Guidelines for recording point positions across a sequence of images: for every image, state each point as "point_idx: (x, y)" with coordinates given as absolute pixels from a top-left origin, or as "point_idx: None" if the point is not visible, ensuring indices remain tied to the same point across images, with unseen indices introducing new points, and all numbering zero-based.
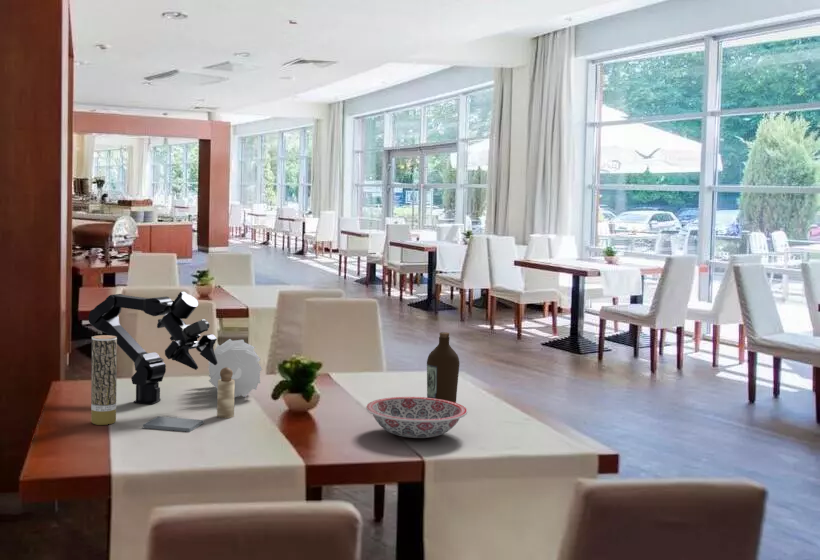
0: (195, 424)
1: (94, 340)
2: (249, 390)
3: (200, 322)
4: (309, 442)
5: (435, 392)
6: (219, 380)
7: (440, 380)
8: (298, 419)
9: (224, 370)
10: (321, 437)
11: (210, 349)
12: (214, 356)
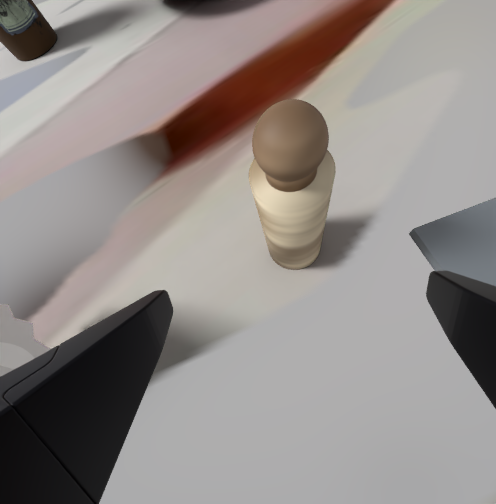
0: (475, 207)
1: None
2: (38, 345)
3: None
4: (340, 14)
5: (27, 2)
6: (314, 191)
7: None
8: (209, 117)
9: (318, 111)
10: (298, 24)
11: (19, 400)
12: (111, 323)
